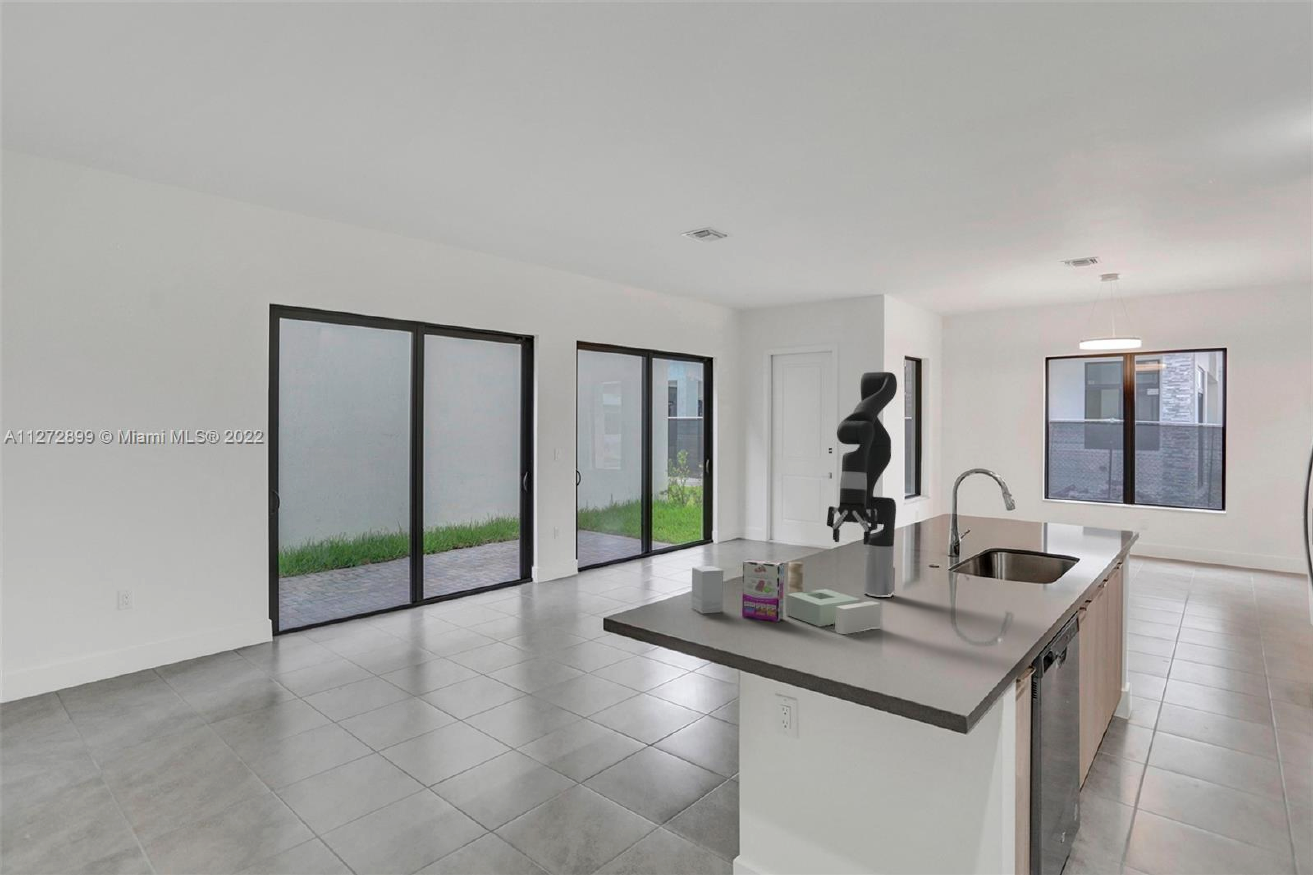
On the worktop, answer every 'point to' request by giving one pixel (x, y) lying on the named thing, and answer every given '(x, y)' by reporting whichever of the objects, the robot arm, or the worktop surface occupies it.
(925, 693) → the worktop surface
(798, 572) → the birch dowel
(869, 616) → the backstop board
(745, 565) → the candy bar box
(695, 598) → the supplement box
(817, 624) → the socket block
